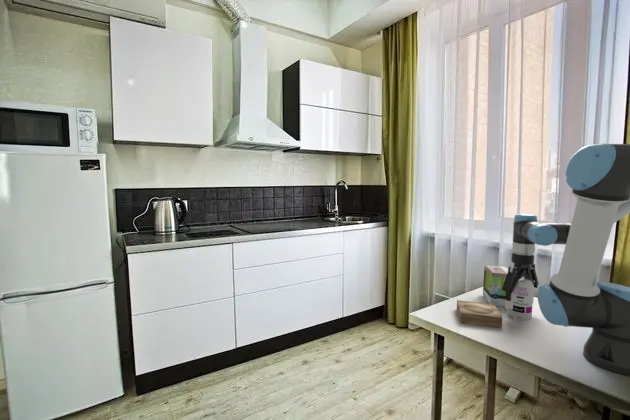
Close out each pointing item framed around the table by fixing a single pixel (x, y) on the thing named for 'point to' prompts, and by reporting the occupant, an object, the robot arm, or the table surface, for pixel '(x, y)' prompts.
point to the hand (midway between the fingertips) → (519, 305)
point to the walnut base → (479, 314)
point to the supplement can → (522, 300)
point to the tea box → (494, 284)
